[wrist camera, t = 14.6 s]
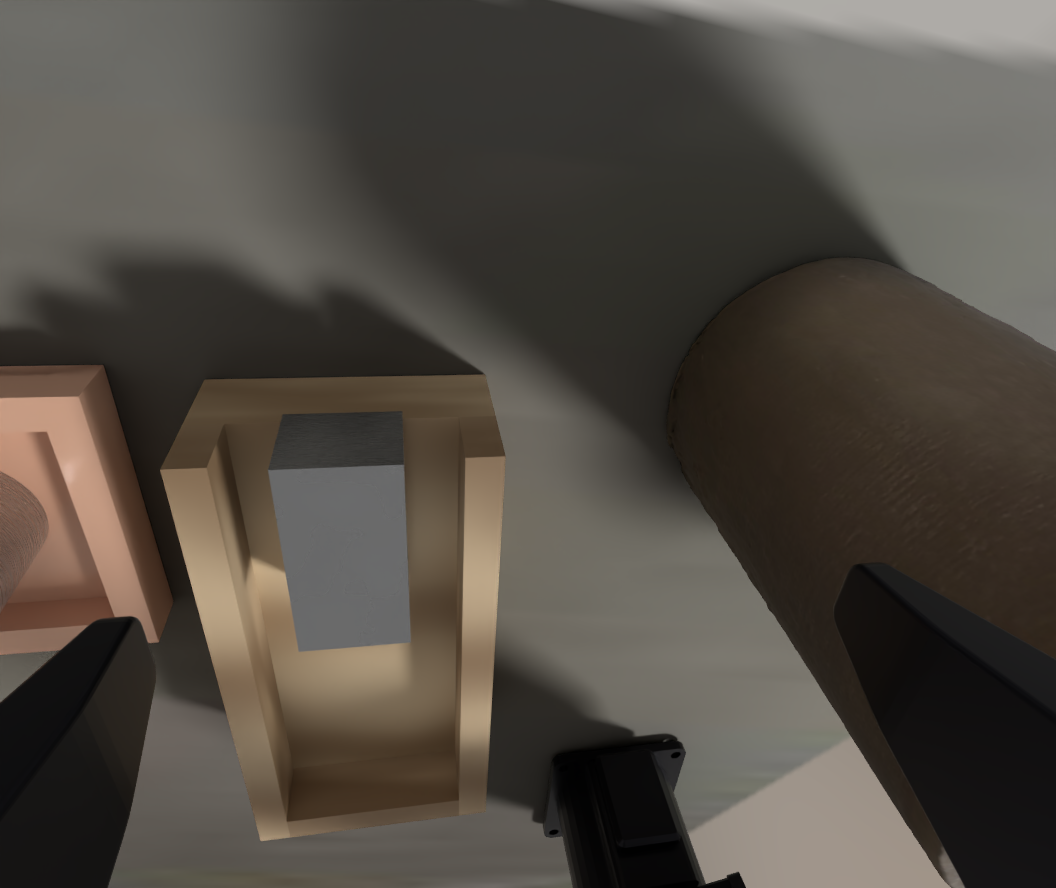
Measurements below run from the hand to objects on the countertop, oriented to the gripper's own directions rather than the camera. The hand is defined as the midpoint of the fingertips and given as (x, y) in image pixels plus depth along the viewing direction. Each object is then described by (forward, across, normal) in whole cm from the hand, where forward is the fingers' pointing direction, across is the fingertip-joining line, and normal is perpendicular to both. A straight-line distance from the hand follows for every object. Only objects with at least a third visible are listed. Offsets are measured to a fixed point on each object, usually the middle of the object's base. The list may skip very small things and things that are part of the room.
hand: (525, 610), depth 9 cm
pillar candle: (+13, -12, +4) cm, 18 cm away
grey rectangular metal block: (+10, +3, +6) cm, 12 cm away
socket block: (+12, +3, +11) cm, 17 cm away
